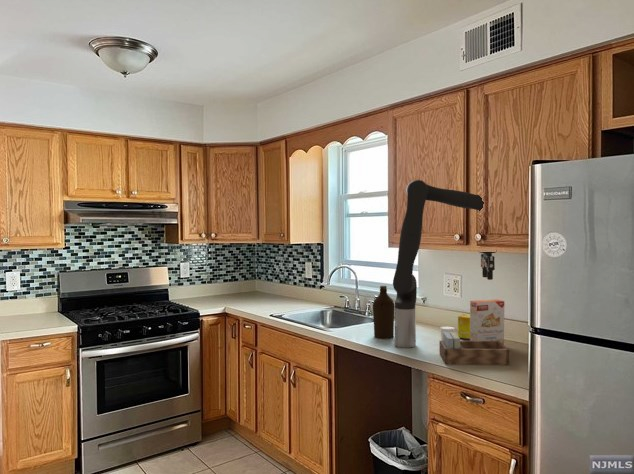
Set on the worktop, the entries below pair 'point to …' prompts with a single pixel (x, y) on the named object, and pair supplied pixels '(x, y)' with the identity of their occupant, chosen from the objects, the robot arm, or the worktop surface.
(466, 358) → the wooden tray
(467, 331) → the yellow cylinder
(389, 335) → the olive oil
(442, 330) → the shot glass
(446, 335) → the offcut
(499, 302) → the cracker box
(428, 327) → the worktop surface
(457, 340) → the offcut
